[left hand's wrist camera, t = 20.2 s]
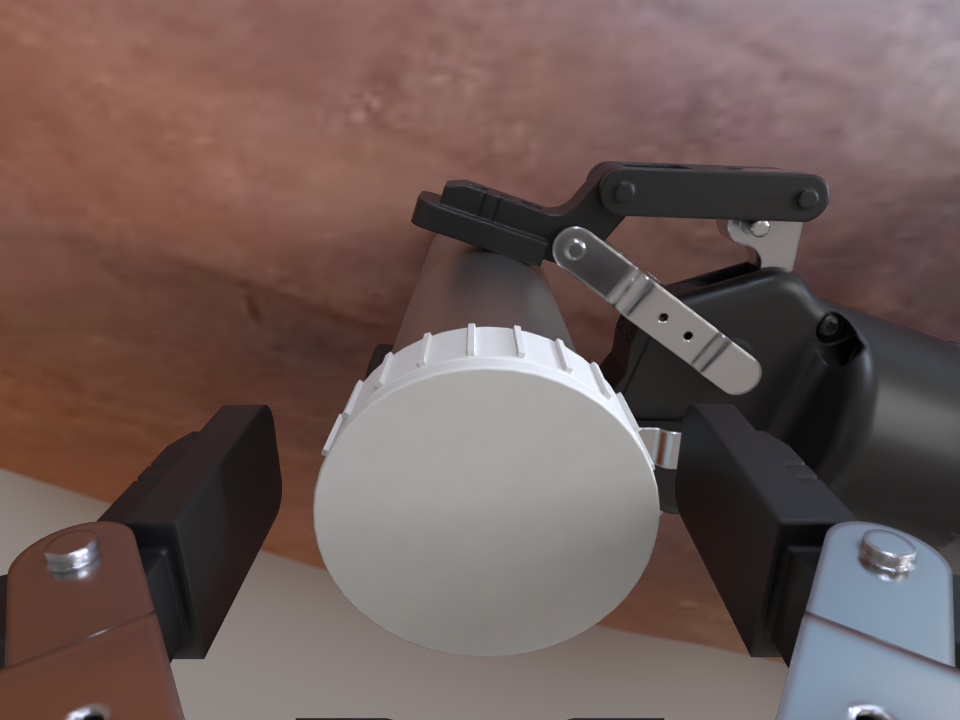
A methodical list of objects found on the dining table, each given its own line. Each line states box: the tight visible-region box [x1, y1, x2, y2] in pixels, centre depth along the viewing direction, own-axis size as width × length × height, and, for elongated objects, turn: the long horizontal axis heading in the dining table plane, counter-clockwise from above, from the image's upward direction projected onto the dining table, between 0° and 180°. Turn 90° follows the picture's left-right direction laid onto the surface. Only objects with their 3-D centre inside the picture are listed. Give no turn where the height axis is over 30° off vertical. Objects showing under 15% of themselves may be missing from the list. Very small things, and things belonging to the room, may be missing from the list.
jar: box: [391, 233, 577, 355], centre depth 17 cm, size 4×4×16 cm
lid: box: [313, 323, 660, 657], centre depth 10 cm, size 5×5×2 cm
